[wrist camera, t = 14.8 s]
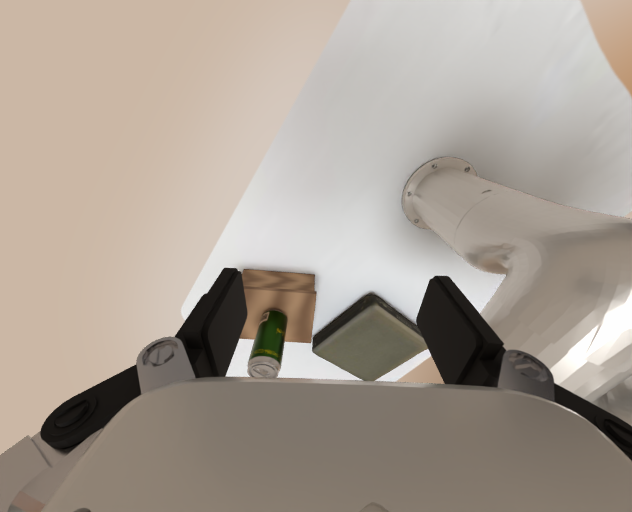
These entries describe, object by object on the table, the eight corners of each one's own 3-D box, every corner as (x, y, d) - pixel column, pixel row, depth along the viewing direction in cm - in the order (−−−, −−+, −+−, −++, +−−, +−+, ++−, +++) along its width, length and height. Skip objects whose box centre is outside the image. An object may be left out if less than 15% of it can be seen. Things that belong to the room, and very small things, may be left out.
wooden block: (316, 273, 50) (316, 294, 44) (311, 319, 57) (310, 343, 51) (242, 267, 50) (231, 287, 43) (246, 315, 57) (237, 338, 51)
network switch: (306, 342, 62) (305, 358, 58) (360, 283, 52) (363, 298, 48) (373, 371, 68) (377, 388, 64) (433, 323, 58) (442, 340, 54)
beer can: (256, 318, 47) (239, 373, 37) (271, 303, 45) (257, 357, 35) (278, 330, 49) (267, 386, 39) (293, 316, 47) (286, 371, 37)
